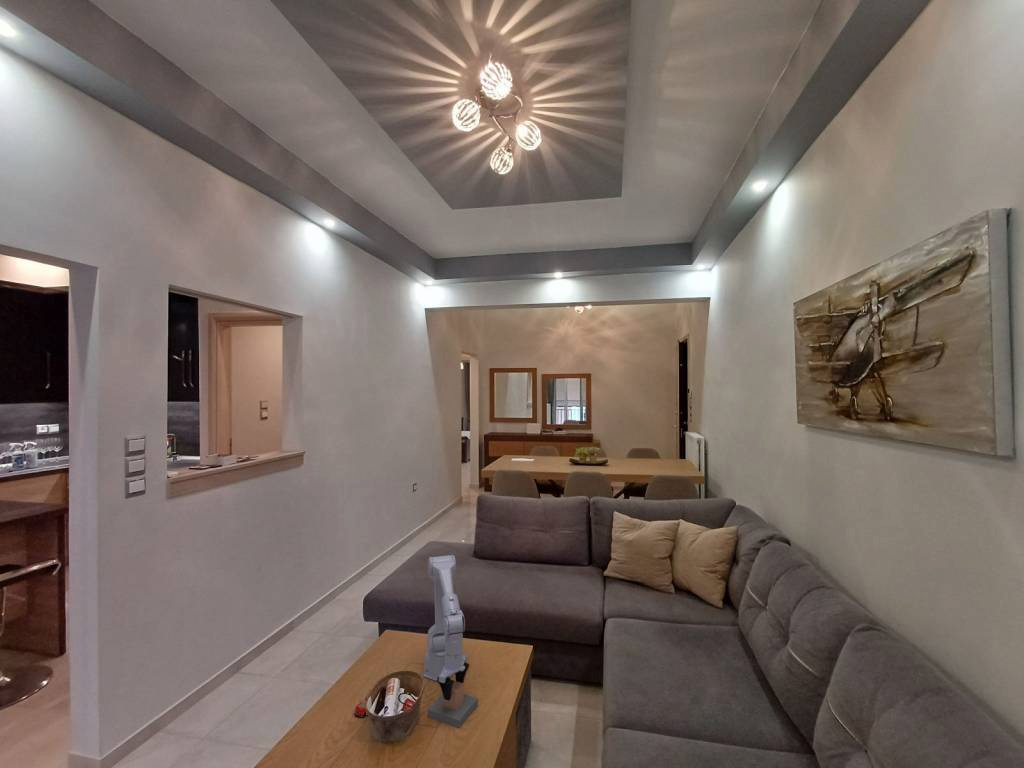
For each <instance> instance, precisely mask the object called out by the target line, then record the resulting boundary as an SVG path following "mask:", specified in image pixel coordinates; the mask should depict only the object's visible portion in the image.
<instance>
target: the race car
mask: <svg viewBox="0 0 1024 768" xmlns="http://www.w3.org/2000/svg"><path fill="white" fill-rule="evenodd" d="M368 697H369V696H368ZM368 697H365V698H364V700H363V701H361V702H360V703H358V704H357V705H356V706H355V710H354V715H355V716H356V717H358V718H364V717H365V718H366V709H365V705H366V701H367V698H368Z"/></svg>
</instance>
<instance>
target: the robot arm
mask: <svg viewBox="0 0 1024 768" xmlns="http://www.w3.org/2000/svg"><path fill="white" fill-rule="evenodd" d="M456 569H457V562H456V557H455V555H454V554H450V555H449V554H448V555H441V556H429V558H428V560H427V575H428V579H432V581H433V583H434V584H433V587H434V588H433V590H434V624H433V625H432V626H431V627H430V628H429V629H428V631H427V638H426V639H427V640H426V642H427V650H426V653H425V655H424V674H423V675H422V677H424V678H427V679H430V680H433V681H436V682H437V683H438V685H439V686H440V689H441V692H442V694H443V697H444V699H445V700H448V701H449V700H450V698H451V691H452V686H453V683H454V681H457V682H460V683H464V684H465V678H466V675H467V672H468V669H469V668H470V663H468V662H467V661H468V654H465V653H463V643H464V642H463V640H464V639H463V637H464V636H463V633H464V632H465V630H466V622H465V621H466V620H465V615H464V613H463V611H462V610H461V607H460V601H459V597H458V595H457V594H456V593H454V585H453V584H454V583H453V576H454V575H455V571H456ZM453 675H455V679H454V680H453V679H451V677H452V676H453Z"/></svg>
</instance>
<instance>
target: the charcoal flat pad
mask: <svg viewBox="0 0 1024 768" xmlns="http://www.w3.org/2000/svg"><path fill="white" fill-rule="evenodd" d="M478 706H479V698H477V697H474V696H471V695H469V694H465V693H464V702H463V703H462V705H461V706H460V707H459V708H458V709H457V710H456V711H455V710H452V709H450V708H447V707H444V706H443V693H442V694H441V696H439V697H438V698H437V699H436V700H435V701H434V702H433V704H431V706H429V708H428V709H427V718H430V719H432V720H435V721H438V722H441V723H443V724H446V725H449V726H452V727H454V728H457V729H460V728H461V727H462V726H463V724H464V723H465V722H466V721H467V720H468V718H469V717H470V716H471V715H472V713H474V711H475V710H476V709H477V707H478Z"/></svg>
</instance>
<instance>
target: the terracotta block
mask: <svg viewBox="0 0 1024 768" xmlns="http://www.w3.org/2000/svg"><path fill="white" fill-rule="evenodd" d="M464 694H465V682H464V683H460V682H457V681H456V680H454V683H453V686H452V691H451V698H450V700H449V701H448V700H445V699H444V697H443V706H444V707H447V708H450V709H452V710H455V711H456V710H457V709H458V708H459V707H460V706H461V705H462V703H463V702H464Z"/></svg>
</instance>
